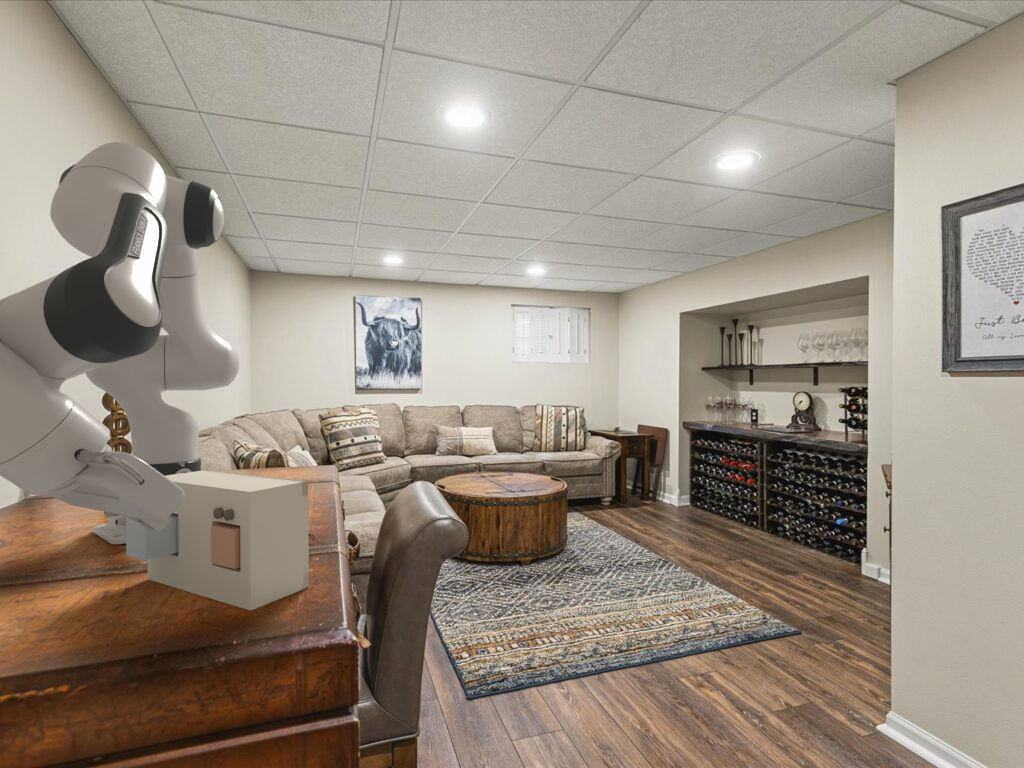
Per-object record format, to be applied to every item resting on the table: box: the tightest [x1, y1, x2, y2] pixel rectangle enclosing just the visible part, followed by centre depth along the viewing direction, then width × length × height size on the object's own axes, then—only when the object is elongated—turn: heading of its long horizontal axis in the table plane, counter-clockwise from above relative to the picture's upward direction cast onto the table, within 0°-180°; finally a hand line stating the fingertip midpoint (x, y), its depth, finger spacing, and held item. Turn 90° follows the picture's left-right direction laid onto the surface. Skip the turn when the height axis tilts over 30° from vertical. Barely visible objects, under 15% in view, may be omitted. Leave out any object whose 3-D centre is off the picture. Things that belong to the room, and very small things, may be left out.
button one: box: [125, 513, 178, 562], centre depth 77 cm, size 5×8×5 cm, turn 151°
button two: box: [211, 523, 241, 569], centre depth 73 cm, size 5×8×5 cm, turn 151°
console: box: [147, 469, 310, 611], centre depth 77 cm, size 24×10×15 cm, turn 61°
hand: (159, 524), depth 62 cm, fingers closed
